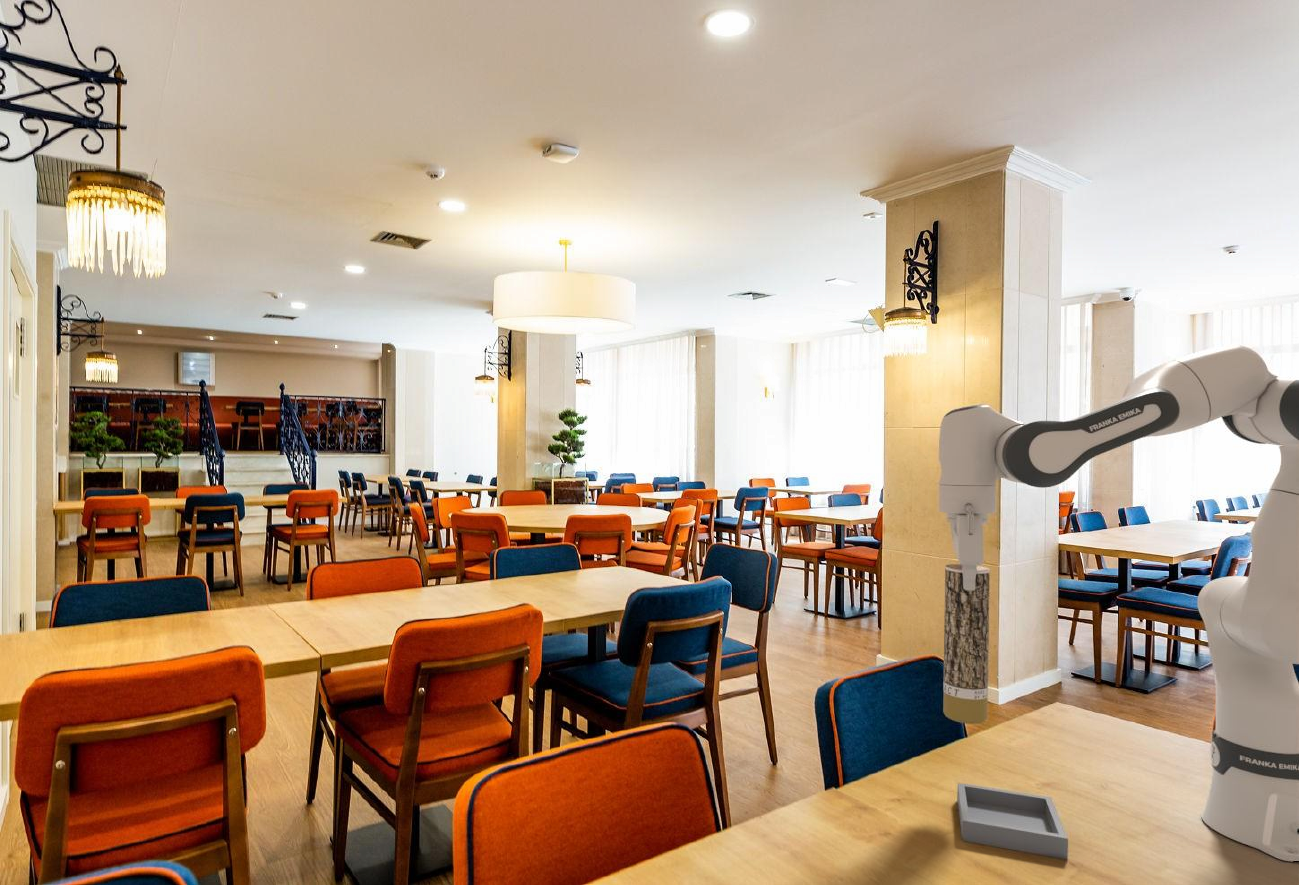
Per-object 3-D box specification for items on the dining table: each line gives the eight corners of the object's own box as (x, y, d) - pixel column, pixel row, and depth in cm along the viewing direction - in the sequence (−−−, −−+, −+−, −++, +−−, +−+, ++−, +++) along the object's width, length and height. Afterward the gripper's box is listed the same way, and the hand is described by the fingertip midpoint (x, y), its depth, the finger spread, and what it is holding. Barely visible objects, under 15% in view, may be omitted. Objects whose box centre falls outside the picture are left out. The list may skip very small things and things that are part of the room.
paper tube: (979, 712, 128) (981, 565, 128) (993, 726, 121) (995, 571, 121) (938, 710, 128) (940, 563, 129) (949, 724, 122) (952, 569, 122)
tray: (1050, 816, 121) (1051, 797, 121) (1067, 859, 108) (1067, 838, 108) (957, 800, 126) (957, 782, 126) (962, 840, 112) (962, 820, 113)
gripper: (993, 506, 114) (993, 597, 114) (983, 499, 133) (983, 577, 133) (948, 505, 116) (949, 595, 116) (945, 498, 136) (945, 575, 135)
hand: (967, 585), depth 125 cm, fingers closed on paper tube, 7 cm apart
